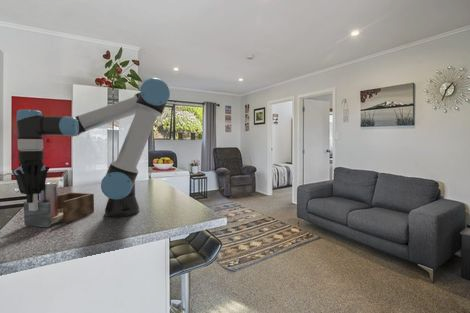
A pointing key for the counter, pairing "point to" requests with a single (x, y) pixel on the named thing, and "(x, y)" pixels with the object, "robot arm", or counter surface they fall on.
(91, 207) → the caddy
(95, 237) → the counter surface
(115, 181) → the robot arm
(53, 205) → the beverage can
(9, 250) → the counter surface
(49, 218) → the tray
